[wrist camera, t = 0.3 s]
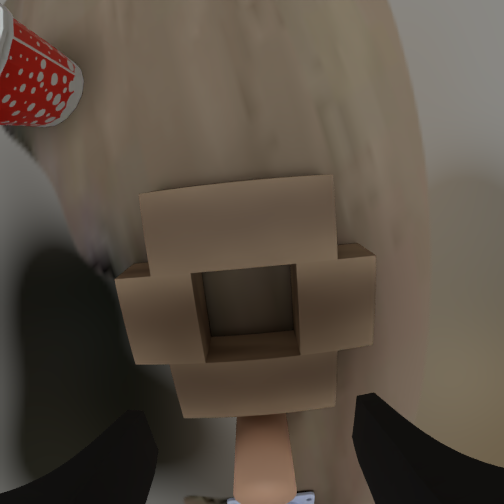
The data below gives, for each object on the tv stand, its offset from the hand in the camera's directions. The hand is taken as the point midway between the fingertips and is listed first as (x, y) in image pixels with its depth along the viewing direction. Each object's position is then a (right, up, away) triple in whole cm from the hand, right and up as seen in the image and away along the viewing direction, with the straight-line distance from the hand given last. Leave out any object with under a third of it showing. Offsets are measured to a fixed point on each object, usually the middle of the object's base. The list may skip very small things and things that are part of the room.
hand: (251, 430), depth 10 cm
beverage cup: (-12, +16, +6) cm, 21 cm away
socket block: (0, +3, +9) cm, 10 cm away
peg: (+1, -6, +11) cm, 13 cm away
